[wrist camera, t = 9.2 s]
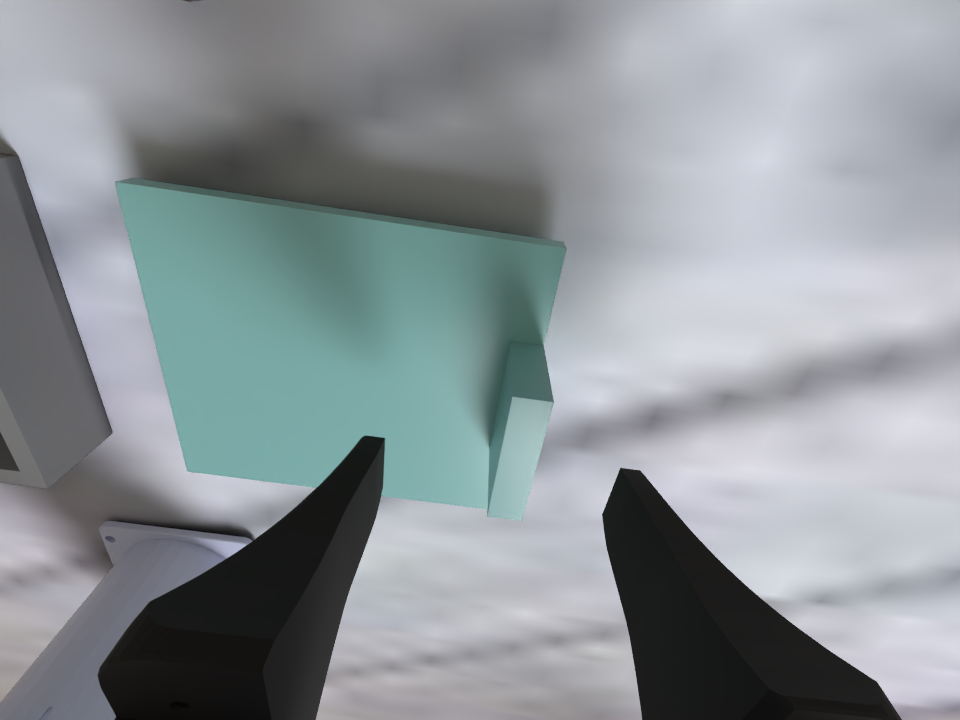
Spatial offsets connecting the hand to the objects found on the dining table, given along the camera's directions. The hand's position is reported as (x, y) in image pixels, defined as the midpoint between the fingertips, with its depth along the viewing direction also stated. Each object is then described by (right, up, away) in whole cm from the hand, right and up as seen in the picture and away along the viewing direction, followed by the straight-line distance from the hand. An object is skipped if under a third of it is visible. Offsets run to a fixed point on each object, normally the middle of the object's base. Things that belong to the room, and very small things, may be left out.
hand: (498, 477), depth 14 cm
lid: (-6, +3, +4) cm, 8 cm away
